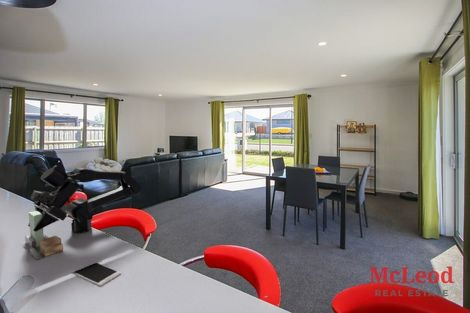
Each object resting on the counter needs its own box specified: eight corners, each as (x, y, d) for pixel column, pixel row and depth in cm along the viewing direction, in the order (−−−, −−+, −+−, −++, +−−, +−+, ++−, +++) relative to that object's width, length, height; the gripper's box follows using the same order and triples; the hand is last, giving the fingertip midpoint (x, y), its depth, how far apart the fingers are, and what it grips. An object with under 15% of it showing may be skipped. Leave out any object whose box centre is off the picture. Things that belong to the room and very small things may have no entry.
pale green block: (39, 240, 96) (36, 210, 94) (44, 244, 92) (42, 214, 91) (31, 242, 94) (28, 212, 92) (36, 247, 90) (33, 215, 89)
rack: (46, 239, 99) (46, 229, 98) (64, 253, 88) (63, 243, 88) (21, 246, 92) (20, 236, 92) (36, 263, 82) (35, 251, 81)
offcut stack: (58, 245, 92) (57, 234, 91) (63, 250, 89) (62, 238, 88) (40, 251, 87) (39, 240, 87) (44, 256, 84) (44, 244, 84)
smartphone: (90, 262, 84) (90, 259, 84) (121, 274, 77) (121, 272, 77) (68, 272, 78) (68, 270, 77) (100, 288, 71) (100, 284, 71)
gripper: (37, 179, 99) (3, 212, 92) (54, 186, 88) (17, 225, 81) (61, 194, 106) (31, 226, 99) (80, 202, 95) (47, 239, 88)
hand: (31, 228), depth 91 cm, fingers closed on pale green block, 6 cm apart
